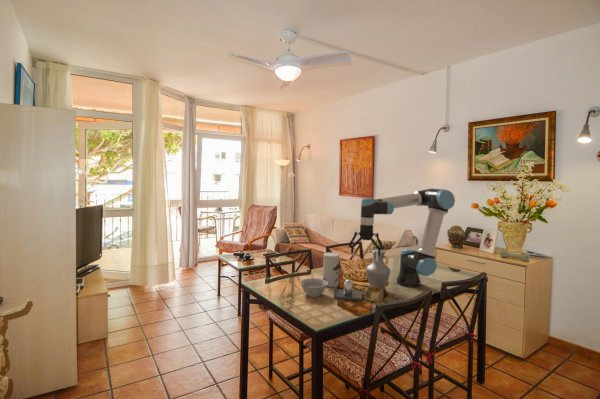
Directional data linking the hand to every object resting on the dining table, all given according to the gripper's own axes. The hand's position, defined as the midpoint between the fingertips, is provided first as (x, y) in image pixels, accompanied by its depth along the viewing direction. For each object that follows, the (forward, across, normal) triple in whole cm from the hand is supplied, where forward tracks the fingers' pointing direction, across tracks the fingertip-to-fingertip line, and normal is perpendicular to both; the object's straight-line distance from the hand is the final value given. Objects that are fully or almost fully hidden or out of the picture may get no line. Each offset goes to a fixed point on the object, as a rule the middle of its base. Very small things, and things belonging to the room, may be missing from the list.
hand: (365, 260), depth 194 cm
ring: (+21, -6, +4) cm, 22 cm away
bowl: (+22, +29, +7) cm, 37 cm away
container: (+21, +21, -14) cm, 33 cm away
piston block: (+21, +9, +4) cm, 23 cm away
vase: (+21, -8, -9) cm, 25 cm away
